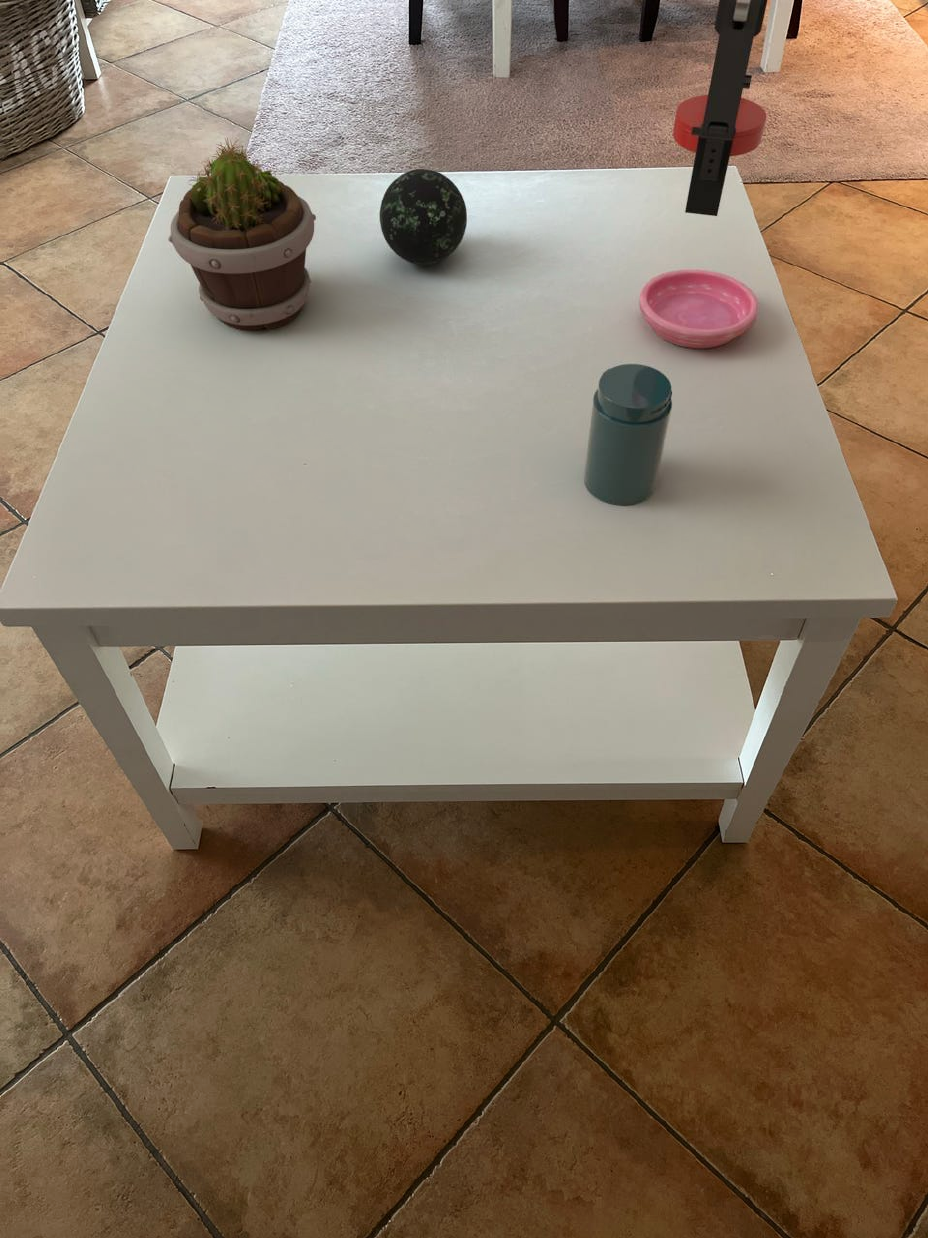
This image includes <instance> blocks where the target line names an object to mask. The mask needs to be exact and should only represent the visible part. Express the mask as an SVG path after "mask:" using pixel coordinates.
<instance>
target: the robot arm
mask: <svg viewBox="0 0 928 1238" xmlns="http://www.w3.org/2000/svg"><path fill="white" fill-rule="evenodd" d="M767 4H768V0H718V4H717V5H718V6H717V10H716V11H717V12H716V16H715V22H714V30H715V32H716V33H717V34H718V40H717V46H716V51H715V56H714V62H713V67H712V72H711V78H710V83H709V89H708V93H707V95H708V99H707V104H706V109H705V115H704V120H703V123H702V124H701V126H700V127H694V126H693V127H692V133H691V135H694V136H699V138H698V144H697V149H696V153H695V156H694V161H693V167H692V172H691V177H690V183H689V188H688V193H687V197H686V198H687V199H686V205H685V210H684V213H687V214H694V215H702V216H703V215H704V216H711V217H718V213H719V209H720V204H721V199H722V196H723V191H724V185H725V180H726V175H727V171H728V167H729V162H730V157H731V156H730V153H731V148H732V143H733V139H734V136H735V134H736V127H735V124H736V119H737V115H738V110H739V105H740V100H741V98H742V96H743V90H744V89H747V90H750V87H751V84H752V77H753V75H751V74H747V71H748V66H749V62H750V56H751V52H752V49H753V43H754V38H756V37H757V36H759V34H760V33H761V32H762V28H763V24H764V19H765V13H766V9H767Z"/></svg>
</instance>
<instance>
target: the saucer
mask: <svg viewBox="0 0 928 1238" xmlns="http://www.w3.org/2000/svg"><path fill="white" fill-rule="evenodd" d="M638 301H639V303H638V305H639V309H640V312H641V314H642V316H643V317H644V319H645V321H646V322H647V324H648V325H649V326H650V327H651V329H652V330H653V331H654V332H655V333H656V335H657V336H659V337H660V338H662V339H663V340H665V341H667V342H669V343H671V344H674V345H677V346H679V347H683V348H690V349H709V348H715V347H720V346H722V345H724V344H727V343H729V342H730V341H733V339H735V338H737V337H738V336H740V335H742V334H743V333H744V332H745V331H748V330H749V328H751V327H752V326H753V324H754V323H755V321H756V318H757V316H758V311H759V301H758V298H757V296H756V294H755V293H754V292H753V290H751V288H749V286H747V285H746V284H745V283H743V282H742V281H740V280H738V279H736V278H734V277H732V276H729V275H727V274H723V273H720V272H716V271H711V270H704V269H680V270H671V271H668V272H663V273H660V274H658V275H656V276H654V277H652V278H651V279H650V280H648V281H647V282H645V285H644V286H643V287H642V288H641V291H640V294H639V299H638Z"/></svg>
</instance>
